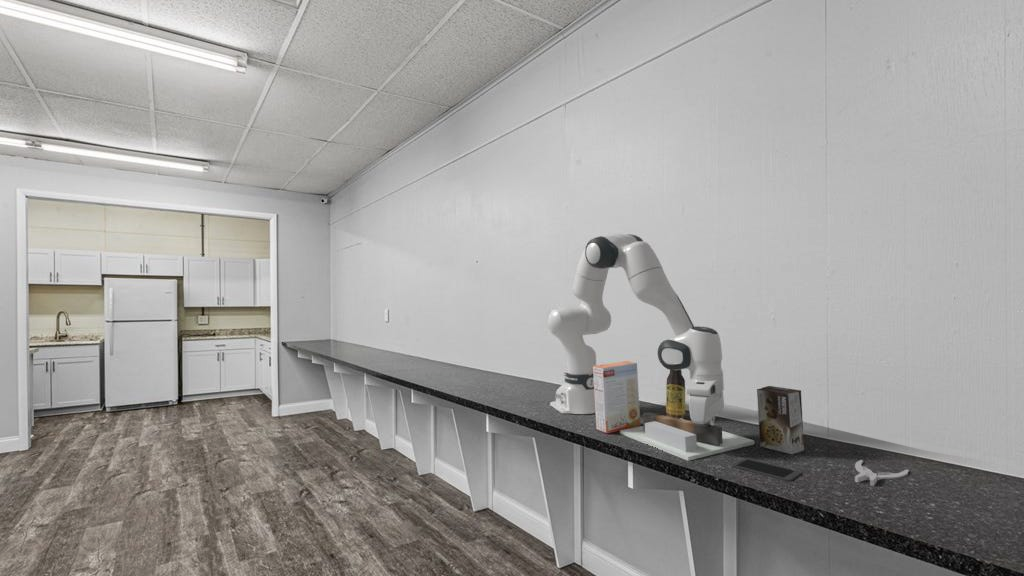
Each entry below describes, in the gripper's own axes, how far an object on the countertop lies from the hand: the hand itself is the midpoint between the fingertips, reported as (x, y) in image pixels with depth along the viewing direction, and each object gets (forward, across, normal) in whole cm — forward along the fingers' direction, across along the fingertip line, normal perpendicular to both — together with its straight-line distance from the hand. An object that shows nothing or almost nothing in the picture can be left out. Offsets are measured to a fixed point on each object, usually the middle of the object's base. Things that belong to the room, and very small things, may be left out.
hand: (709, 431), depth 138 cm
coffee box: (+4, -5, +17) cm, 18 cm away
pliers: (+4, +4, +38) cm, 38 cm away
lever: (+2, +2, -8) cm, 8 cm away
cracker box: (+3, 0, -29) cm, 29 cm away
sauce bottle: (+3, -21, -17) cm, 28 cm away
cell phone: (+4, +14, +17) cm, 22 cm away
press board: (+3, 0, -8) cm, 8 cm away
